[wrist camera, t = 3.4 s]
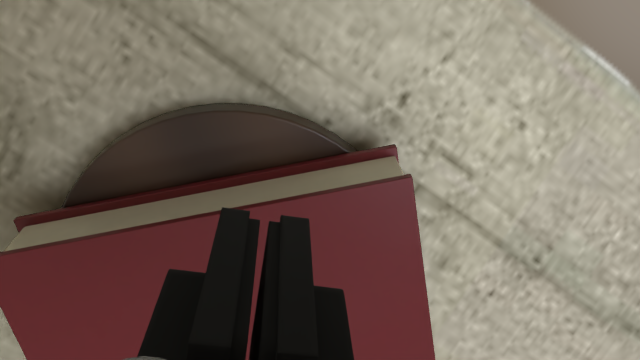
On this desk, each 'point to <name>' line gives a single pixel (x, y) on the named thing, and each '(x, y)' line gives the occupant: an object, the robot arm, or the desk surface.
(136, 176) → the disc
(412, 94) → the desk surface
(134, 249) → the book
